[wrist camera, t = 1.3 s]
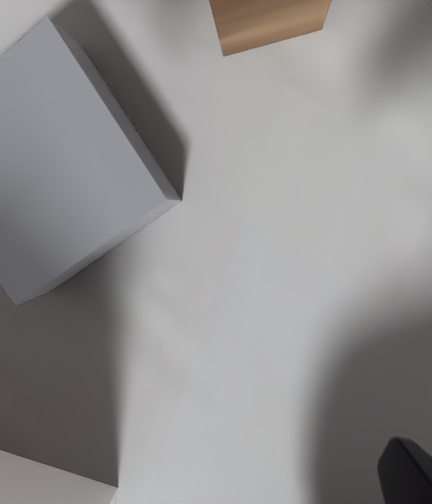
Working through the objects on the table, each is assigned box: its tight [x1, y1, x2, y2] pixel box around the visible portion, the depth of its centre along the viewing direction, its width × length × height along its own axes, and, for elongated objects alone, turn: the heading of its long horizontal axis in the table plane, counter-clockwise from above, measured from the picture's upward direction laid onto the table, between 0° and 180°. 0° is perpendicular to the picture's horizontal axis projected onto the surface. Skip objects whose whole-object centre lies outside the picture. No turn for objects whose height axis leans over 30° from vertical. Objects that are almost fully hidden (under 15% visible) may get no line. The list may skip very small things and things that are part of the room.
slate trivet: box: [0, 16, 182, 305], centre depth 18 cm, size 10×10×3 cm
